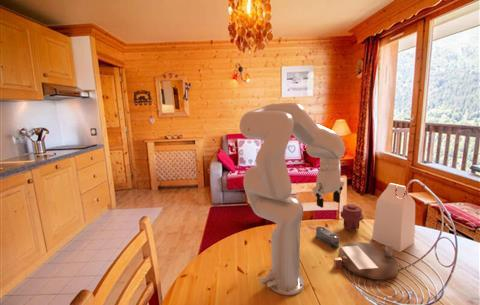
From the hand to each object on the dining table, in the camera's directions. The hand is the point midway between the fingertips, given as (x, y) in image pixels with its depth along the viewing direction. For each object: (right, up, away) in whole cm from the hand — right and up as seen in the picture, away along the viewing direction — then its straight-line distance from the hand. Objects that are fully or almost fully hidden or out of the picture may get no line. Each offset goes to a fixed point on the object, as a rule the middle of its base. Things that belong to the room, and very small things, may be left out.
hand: (328, 204), depth 106 cm
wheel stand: (+5, -21, -14) cm, 26 cm away
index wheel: (+10, -19, -14) cm, 25 cm away
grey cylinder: (+1, -18, +3) cm, 18 cm away
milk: (+29, -17, +2) cm, 34 cm away
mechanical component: (+16, -15, +13) cm, 25 cm away
